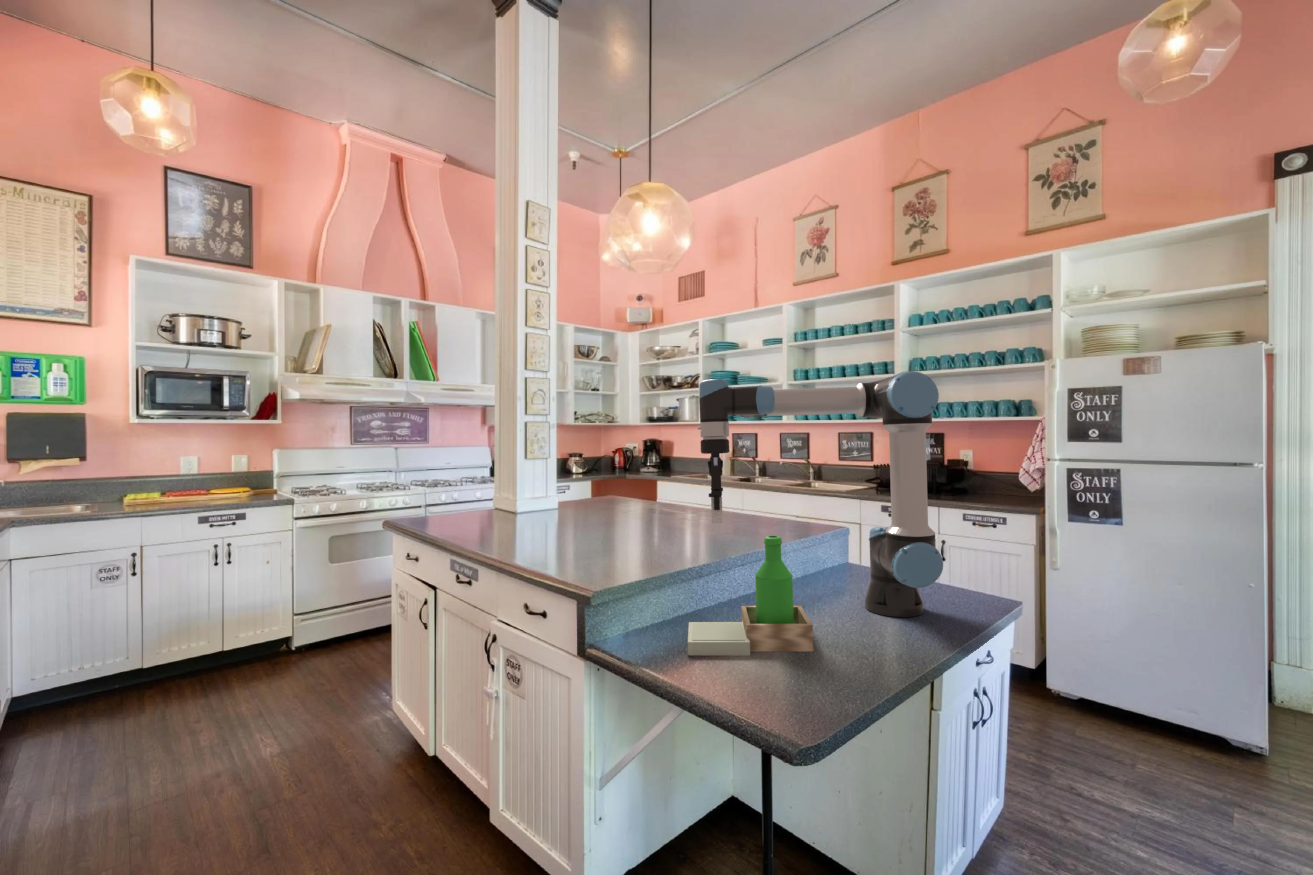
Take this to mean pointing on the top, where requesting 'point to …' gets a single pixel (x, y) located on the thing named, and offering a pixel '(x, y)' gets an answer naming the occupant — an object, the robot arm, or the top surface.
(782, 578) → the bottle
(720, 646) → the stand block
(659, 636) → the top surface
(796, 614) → the open square wooden frame
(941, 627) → the top surface
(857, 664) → the top surface
